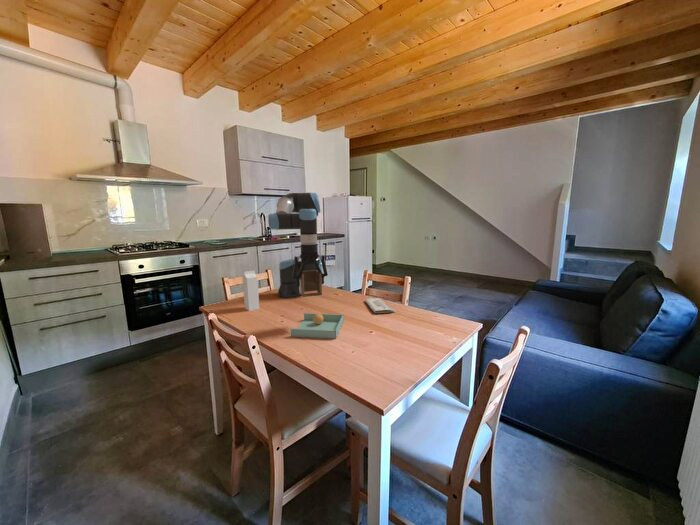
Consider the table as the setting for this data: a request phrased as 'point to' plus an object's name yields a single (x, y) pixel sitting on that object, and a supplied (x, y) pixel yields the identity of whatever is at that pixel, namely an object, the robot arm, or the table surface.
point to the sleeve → (311, 283)
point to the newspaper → (378, 305)
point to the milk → (250, 290)
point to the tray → (319, 326)
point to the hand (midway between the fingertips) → (310, 291)
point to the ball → (318, 319)
